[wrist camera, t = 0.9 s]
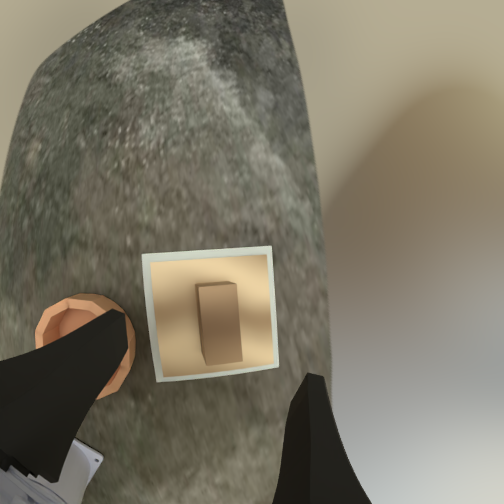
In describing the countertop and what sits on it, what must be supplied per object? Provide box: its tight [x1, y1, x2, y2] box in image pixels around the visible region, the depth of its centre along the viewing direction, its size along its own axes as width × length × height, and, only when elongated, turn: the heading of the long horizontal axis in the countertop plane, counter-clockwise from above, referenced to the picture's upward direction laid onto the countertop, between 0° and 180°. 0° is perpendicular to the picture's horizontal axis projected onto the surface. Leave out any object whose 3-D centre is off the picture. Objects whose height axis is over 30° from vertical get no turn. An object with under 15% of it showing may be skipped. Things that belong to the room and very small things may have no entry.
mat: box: [142, 246, 279, 382], centre depth 26 cm, size 12×12×1 cm
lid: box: [150, 254, 274, 377], centre depth 24 cm, size 10×10×4 cm
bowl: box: [35, 293, 136, 400], centre depth 21 cm, size 8×8×4 cm
